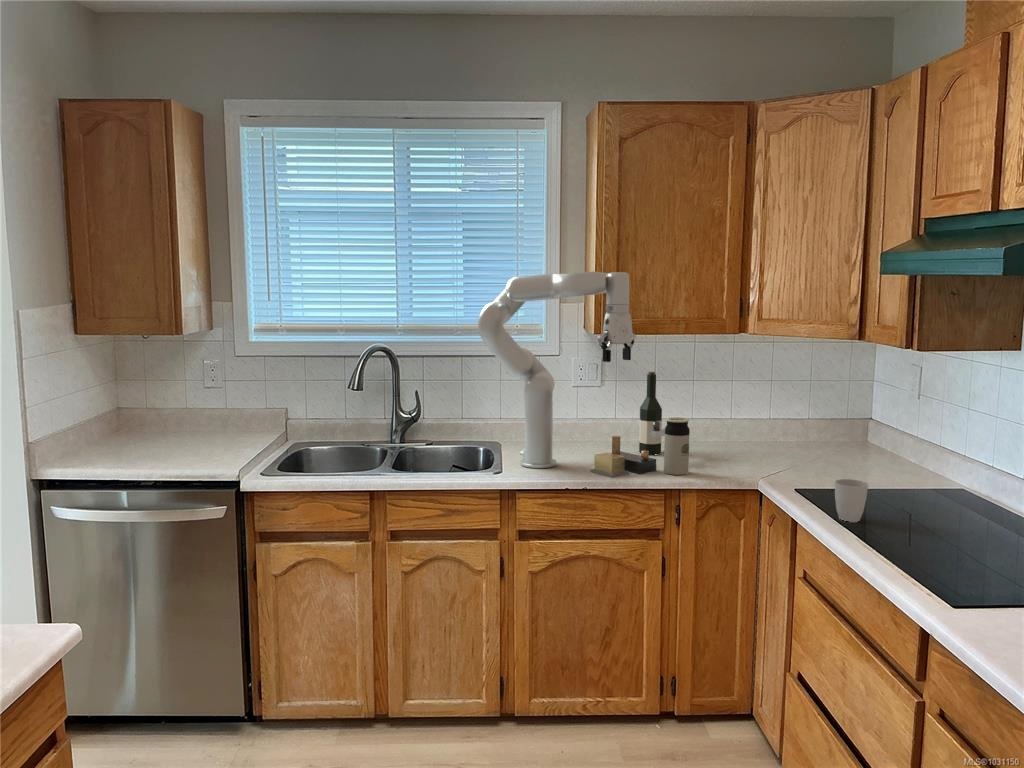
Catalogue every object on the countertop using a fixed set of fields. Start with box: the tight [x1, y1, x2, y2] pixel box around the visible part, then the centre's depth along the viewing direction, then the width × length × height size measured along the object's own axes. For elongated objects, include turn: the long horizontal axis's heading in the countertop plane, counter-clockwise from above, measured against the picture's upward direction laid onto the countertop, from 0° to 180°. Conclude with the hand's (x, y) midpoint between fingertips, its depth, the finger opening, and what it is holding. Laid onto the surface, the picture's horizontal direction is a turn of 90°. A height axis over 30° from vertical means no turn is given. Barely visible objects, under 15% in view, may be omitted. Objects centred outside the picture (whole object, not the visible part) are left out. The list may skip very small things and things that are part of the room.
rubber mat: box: [589, 468, 630, 478], centre depth 265 cm, size 10×8×1 cm
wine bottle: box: [638, 371, 663, 456], centre depth 294 cm, size 8×8×30 cm
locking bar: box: [651, 422, 665, 437], centre depth 282 cm, size 2×16×5 cm, turn 129°
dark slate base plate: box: [611, 435, 657, 475], centre depth 271 cm, size 16×8×10 cm, turn 39°
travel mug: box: [663, 416, 691, 476], centre depth 264 cm, size 8×8×18 cm
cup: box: [834, 478, 869, 523], centre depth 212 cm, size 8×8×10 cm
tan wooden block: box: [593, 451, 625, 474], centre depth 265 cm, size 8×6×5 cm
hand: (616, 360), depth 269 cm, fingers open, 9 cm apart
